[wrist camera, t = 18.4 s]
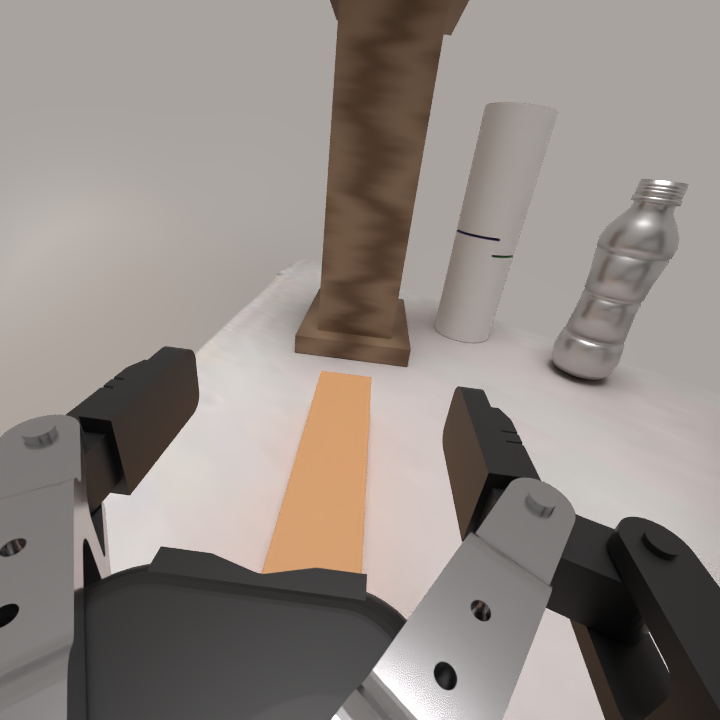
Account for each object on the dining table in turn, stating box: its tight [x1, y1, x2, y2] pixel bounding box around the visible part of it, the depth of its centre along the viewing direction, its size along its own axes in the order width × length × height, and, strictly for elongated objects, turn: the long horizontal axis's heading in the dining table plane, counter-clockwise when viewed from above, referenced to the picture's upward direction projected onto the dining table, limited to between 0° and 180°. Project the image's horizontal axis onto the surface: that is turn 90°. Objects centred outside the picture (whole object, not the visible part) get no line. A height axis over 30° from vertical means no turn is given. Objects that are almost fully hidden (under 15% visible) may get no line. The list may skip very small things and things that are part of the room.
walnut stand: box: [295, 0, 469, 367], centre depth 38 cm, size 12×16×33 cm
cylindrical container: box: [435, 102, 558, 343], centre depth 44 cm, size 7×7×25 cm
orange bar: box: [262, 371, 371, 574], centre depth 21 cm, size 4×20×4 cm, turn 177°
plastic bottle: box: [552, 179, 688, 380], centre depth 38 cm, size 6×7×20 cm
